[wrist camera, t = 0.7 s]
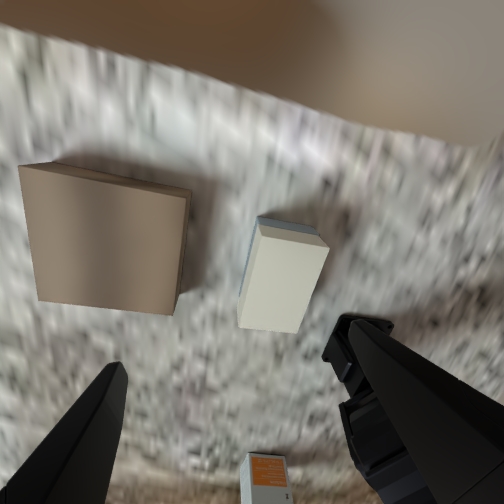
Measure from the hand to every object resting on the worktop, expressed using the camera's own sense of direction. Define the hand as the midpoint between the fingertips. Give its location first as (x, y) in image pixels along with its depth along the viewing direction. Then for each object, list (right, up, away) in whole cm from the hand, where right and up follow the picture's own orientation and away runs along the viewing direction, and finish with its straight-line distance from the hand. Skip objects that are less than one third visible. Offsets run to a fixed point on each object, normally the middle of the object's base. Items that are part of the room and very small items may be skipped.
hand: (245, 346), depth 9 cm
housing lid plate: (+2, +2, +11) cm, 11 cm away
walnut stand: (-10, +5, +11) cm, 16 cm away
